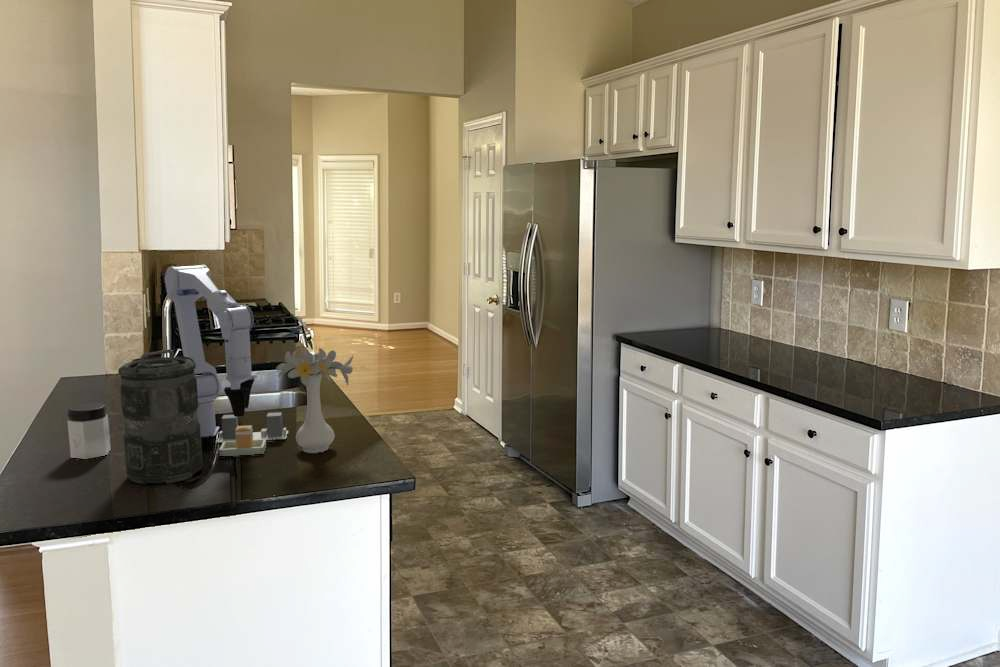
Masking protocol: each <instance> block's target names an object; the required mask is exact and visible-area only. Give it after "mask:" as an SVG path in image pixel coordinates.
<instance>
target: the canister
mask: <svg viewBox="0 0 1000 667" xmlns="http://www.w3.org/2000/svg"><path fill="white" fill-rule="evenodd" d="M168 353H169V356H163V357H162V356H161V357H160V356H159V357H158V356H157V355H160V354H161V355H162V354H168ZM155 355H156V356H155ZM195 368H196V363H195V362H194V361H193V359H191V358H189V357H184V355H183V356H182V355H175V356H174V354H173V350H171V349H164V350H163V349H162V350H158V351H151V352H147V353H143V354H142V355H141V356H140V357H139V358H134V359H132V360H131V361H128V362H126V363H125V364H123V365H122V366H120V367H119V368H118V369H117V372H118V374H119V375H120V398H121V411H122V412H121V413H122V416H123V421H124V435H123V447H124V459H125V469H126V475H127V478H128V479H129V480H130V481H131V482H133V483H135V484H138V485H139V484H140V485H145V484H146V485H148V484H161V483H162V484H163V483H165V484H166V485H168V484H174V483H179V482H181V481H185V480H189V479H191V478H192V477H193V476H194V474H196V473H197V472H199V471H200V470H201V469H202V468H203V450H202V437H201V432H200V423H199V422H198V416H197V408H198V395H197V380H196V378H195V376H196V374H195V372H194V369H195ZM146 485H145V486H146Z"/></svg>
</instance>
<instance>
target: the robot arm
mask: <svg viewBox="0 0 1000 667" xmlns="http://www.w3.org/2000/svg"><path fill="white" fill-rule="evenodd" d="M164 284H165V289H166V290H165V291H166V294H167V299H168V300H169V301H172V302H173V304H174V305H173V306H174V310H175V316H176V321H177V322H176V323H177V326H178V332H179V338H180V343H181V348H182V355H183V356H184V357H189V358H191V359H193V361H194V362H195V363H196V368H195V369H194V372H195V378H196V380H197V395H198V408H197V416H198V422H199V423H200V432H201V438H209V436H211V437H215V436H217V433H219V430H220V428H221V427H220V426H216V410H215V400H217V396H219V395H220V392H221V388H222V386H221V381H220V378H219V376H218V372H217V370H216V367H215V366H213V365H211V364H210V363H208V362H206V359H205V352H204V346H203V342H202V336H201V329H200V325H199V319H198V314H197V308H196V302H197V300H198V299H200V298H202V297H204V298H205V300H206V305H207V308H208V309H209V310H210V311H211V312H212V313H213V314H214V316H216V318H217V319H218V325H219V328H220V331H221V337H222V339H224V352H225V353H224V354H225V369H226V375H225V380H227V381H228V382H229V383H230V386H225V387H224V389H223V391H224V392H223V393H224V394H225V395H226V396H227V398H228V401H229V403H230V406H231V409H232V415H234V416H235V417H238V418H239V417H244V416H245V411H246V410H245V409H248V408H249V405H250V397H251V393H252V392H251V391H252V387H253V385H254V382H255V380H256V379H255V378H257V377H258V375H257V373H255V372H254V373H252V359H251V357H252V355H251V342H250V341H251V337H250V330H251V329H252V328H253V326H254V323H255V322H254V321H255V320H254V315H253V311H252V310H251V308H250V307H249V306H248V305H243V304H241V305H240V304H239V303H238V302H236V300H235V299H234V298H233V297H232V296H231V295H230V294H229V293H228V292H227V290H221V289H218V286H217V285H215V283H214V282H213V280H212V274H211V270H210V269H209V267H208V266H207V265H206V264H199V265H185V266H184V265H183V266H181V265H180V266H173V265H172V266H168V268H167V270H166V271H165V276H164ZM198 374H199V375H198Z"/></svg>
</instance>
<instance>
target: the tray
mask: <svg viewBox="0 0 1000 667" xmlns="http://www.w3.org/2000/svg"><path fill="white" fill-rule="evenodd" d="M267 442H268V441H267ZM267 442H266V439H257V440H253V447H251V448H236V441H224V442H223V443H222V444H220V447H219V449H218V455H219V456H233V457H240V456H239V455H251V456H255V455H254V454H265V452H266V449H267V447H266V445H267ZM267 446H268V445H267ZM265 448H266V449H265ZM264 451H265V452H264ZM219 456H218V457H219Z"/></svg>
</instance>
